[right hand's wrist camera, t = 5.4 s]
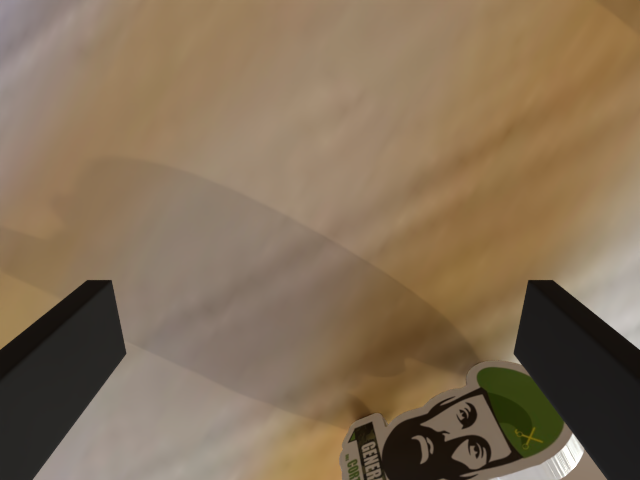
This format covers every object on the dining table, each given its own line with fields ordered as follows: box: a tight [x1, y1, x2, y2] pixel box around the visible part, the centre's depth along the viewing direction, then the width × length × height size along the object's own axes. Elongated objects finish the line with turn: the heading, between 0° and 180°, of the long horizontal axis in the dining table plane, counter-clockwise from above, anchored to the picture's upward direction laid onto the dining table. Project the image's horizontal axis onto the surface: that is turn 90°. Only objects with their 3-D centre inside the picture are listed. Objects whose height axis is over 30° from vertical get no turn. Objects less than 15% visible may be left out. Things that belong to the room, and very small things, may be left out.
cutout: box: [339, 360, 584, 480], centre depth 42 cm, size 15×3×25 cm
